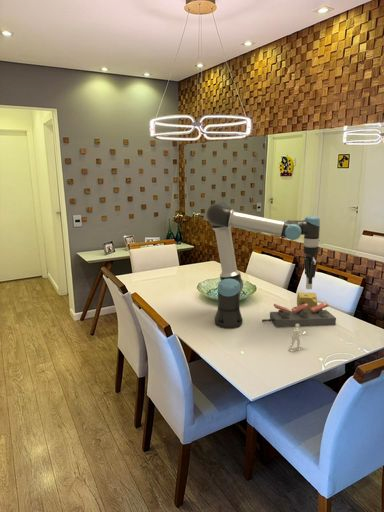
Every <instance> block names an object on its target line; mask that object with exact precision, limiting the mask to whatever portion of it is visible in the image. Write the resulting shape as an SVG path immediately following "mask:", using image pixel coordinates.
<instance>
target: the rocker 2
mask: <svg viewBox="0 0 384 512" xmlns="http://www.w3.org/2000/svg"><path fill="white" fill-rule="evenodd" d="M308 307H310V306H309V305H308V304H307V303H305V304H302V305H300V306H297V305H296V306H294V307H292V308H291V311H293V312H294V313H296V312H299V311H303V309H306V308H308Z"/></svg>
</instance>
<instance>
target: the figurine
mask: <svg viewBox="0 0 384 512" xmlns="http://www.w3.org/2000/svg"><path fill="white" fill-rule="evenodd" d="M295 326H296V327H292V328H293V329H292V330H293V331H292V334H291V342H290V344H289V346H288V351H289V352H291V353H294V352H296V351H302V350H303V347H301V346H300V345H301V340H300V339H299V337H301V336H303V337H304V336H305V337H307V336H308V332H307V331H306V330H303V332H301V331H300V329H299V328H300V327H299V326H300V325H299V324H296V325H295ZM300 332H301V333H300ZM296 341H297V343H296V347H293V346H294V344H295V342H296Z"/></svg>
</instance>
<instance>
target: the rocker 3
mask: <svg viewBox="0 0 384 512" xmlns="http://www.w3.org/2000/svg"><path fill="white" fill-rule="evenodd" d="M328 307H329V304H328V303H327V302H326V301H324V302H322V303H319V304H317V306H314V307H312V308H310V310H311V311H312V312H316V311H318V310H320V311H322V310H324V309H325V308H328Z"/></svg>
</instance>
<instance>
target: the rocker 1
mask: <svg viewBox="0 0 384 512" xmlns="http://www.w3.org/2000/svg"><path fill="white" fill-rule="evenodd" d="M273 306H274V308H275V309H277V310H281V311H282V312H284V311H285V312H288V313H291V311H292V310H291V309H289V308H287V307H285V306H281V305H279V304H276V303H273Z"/></svg>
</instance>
